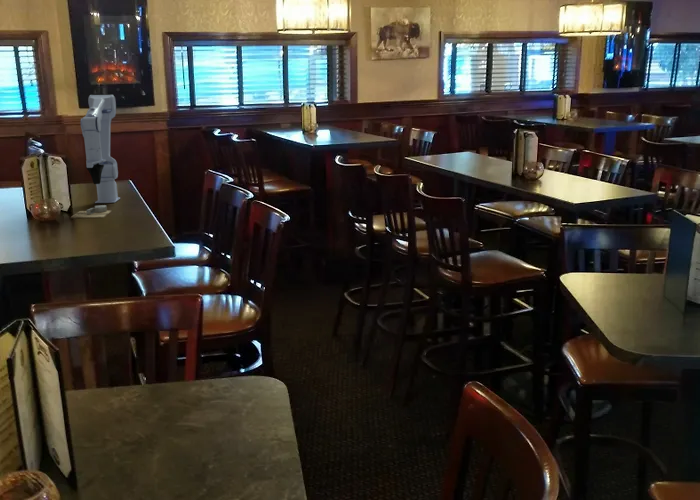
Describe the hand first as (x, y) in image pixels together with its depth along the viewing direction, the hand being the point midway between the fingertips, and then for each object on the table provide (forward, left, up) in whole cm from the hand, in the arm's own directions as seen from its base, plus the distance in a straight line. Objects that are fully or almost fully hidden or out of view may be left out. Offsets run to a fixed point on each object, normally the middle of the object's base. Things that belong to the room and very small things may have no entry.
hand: (97, 183), depth 266 cm
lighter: (+4, 0, -9) cm, 10 cm away
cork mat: (+11, 0, -10) cm, 15 cm away
